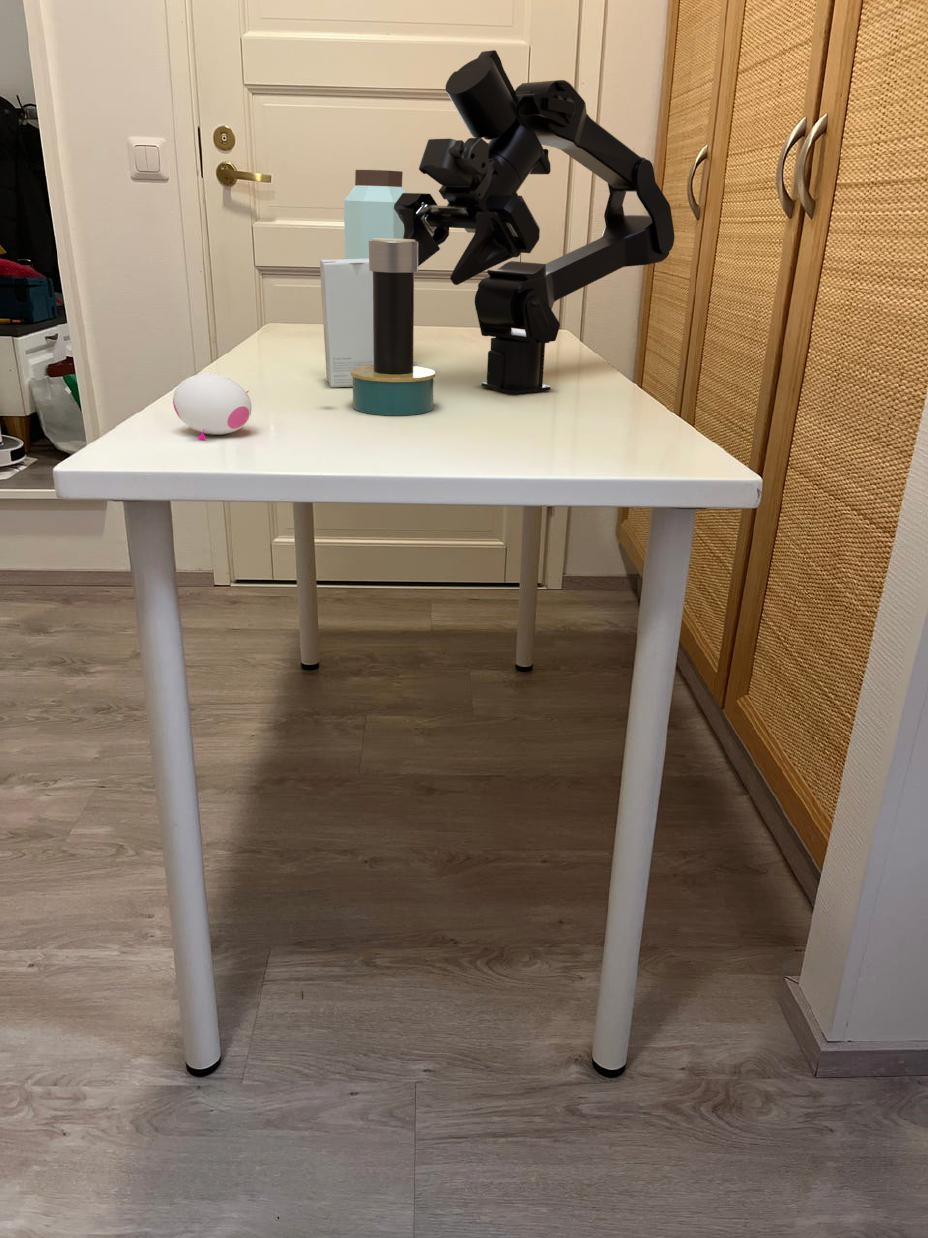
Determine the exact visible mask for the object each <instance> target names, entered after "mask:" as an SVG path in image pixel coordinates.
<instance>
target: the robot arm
mask: <svg viewBox="0 0 928 1238" xmlns="http://www.w3.org/2000/svg"><path fill="white" fill-rule="evenodd" d="M445 91H446V93H447V95H448V97H449V99H450V101H451V102H452V104H453V105H454V107H455V110H456V111H457V113H458V114H459V116H460V118H461V120H462V122H463V123H464V125H465V127H466V128H467V130H468V132H469V134H470V136H472V137H469V138H467V139H466V141H464V140H462V139H459V140H458V139H457V140H456V139H453V138H429V139H428V140H427V141H426V145H425V148H424V151H423V154H422V157H421V160H420V164H419V166H418V170H419V172H420V173H421V174H423V175H427V176H429V177H430V178H431V179H432V180H434V181H435V182H437V183H438V184H439V185H441V186H440V188H439V189H438V193H439V194H440V196H441V197H442V199H443V200H447V202H448V203H447V205H438V203H437V202H436V200H435V199H434V197H433V196H432V194H431V193H424V192H423V193H420V192H419V193H418V192H406V193H402V195H401V196H400V198H399V199H398V200H397V202H396V203H395V205H394V210H395V211H396V213H397V214H398V216H399V218H400V220H401V221H402V223H403V224H404V237H403V239H412V240H415V241H417V242H418V267H420V266H421V265H422V264H424V263H425V262H426V261H428V260H429V259H430V258H432V256H434V255H435V254H436V253H438V252H439V251H440V250H441V247H440V246H441V244H444V243H445V241H446V240H447V239H448V237H449V236H450V228H451V229H464V230H465V232H467V233H470V234H471V233H472V234H473V236H472V238H471V240H470V241H469V243H468V245H467V246H466V247H465V249H464V250H463V252H462V255H461V256H460V258H459V260H458V261H457V263H456V265H455V267H454V268H453V271H452V272H451V274H450V276H449V277H450V281H451V282H452V285H454V286H458V285H460V284H462V283H464V282H466V281H468V280H470V279H472V278H473V277H475V276H478V275H479V274H481V273H483V272H486V273H487V276H485V277H484V278H483V279H481V280H480V281H479V282H478V284H477V290H476V292H475V295H474V307H475V308H474V309H475V312H476V316H477V321H478V325H479V329H480V334H481V336H483V337H490V350H488V352H487V365H486V366H487V367H486V368H487V370H486V381H482V382H481V387H483V388H487V389H491V390H494V391H499V392H501V393H505V394H511V395H516V394H524V393H525V394H526V393H535V392H544V391H545V392H546V391H551V390H552V389H551V388H552V387H551V385H547V384H544V370H545V369H544V367H545V353H546V352H545V351H546V344H550V342H556V340H557V337H558V335H559V331H560V328H561V323H560V321H559V320H558V317H557V316H556V315H555V313H554V312H553V310H552V309H553V307H554V305H555V302H557V301H559V300H561V299H563V298H565V297H567V296H568V295H570V294H574V293H575V292H577V291H579V290H581V289H583V288H585V287H587V286H588V285H591V284H593V283H595V282H596V281H598V280H600V279H602V278H605V277H606V276H609V275H610V274H612V273H615V272H616V271H618V270H621V269H622V268H627V267H639V266H647V265H653V264H658V263H661V262H663V261H665V260H666V259H667V258H668V257H669V255H670V251H671V250H672V249H673V246H674V244H675V239H676V238H675V228H674V222H673V216H672V215H673V214H672V209H671V204H670V202H669V201H668V199H667V198H666V196H665V194H664V192H663V191H662V190H661V189H660V187H659V185H658V183H657V182H656V176H655V169H654V166H653V165H654V164H653V163H652V162H651V160H649V159H647V158H645V157H643V156H640V155H638V154H637V153H636V152H635V151H633V150H632V149H631V148H630V147H628V146H627V145H626V144H624V143H623V142H622V141H621V140H619V139H618V138H617V137H616V136H614V135H613V134H612V133H610V132H609V131H608V130H607V129H605V128H604V127H602V126H601V125H600V124H599V123H597V122H596V121H595V120H594V119H593V118H592V117H590V115H589V114H588V113H587V105H586V101H585V100H584V98H583V97H582V96H581V95H580V93H578V91H577V90H576V89H575V87H574V86H573V85H572V84H571V83H570V82H569V81H567V80H565V79H556V80H544V81H532V82H522V83H521V84H520V85H518V86H517V87H516V88H514V87H513V84H512V83H511V81H510V78H509V77H508V74H507V73H506V71H505V68H504V66H503V63H502V59H501V58H500V56H499V53H498V52H497V50H495V49H492V50H485V51H481V52H480V53H479V55H478V56H477V58H475V59H472V60H470V61H469V62H467V63H465V64H464V65H462V66H461V67H460V68H459V69H457V70H456V71H453V72H452V74H451V75H449V77H448V79H447V81H446V83H445ZM486 140H487V141H488V142H487V141H486ZM543 146H546V147H550V148H554V149H558V150H560V151H562V152H563V153H564V154H566V155H568V156H569V157H570V158H571V159H573V160H574V161H575V162H577V163H579V164H580V165H581V166H583V167H584V168H586V169H587V170H588V171H590V172H591V173H593V174H594V175H596V176H597V177H598V178H600V179H601V180H603V181H604V182H606V183H607V187H608V193H609V194H608V195H609V196H608V199H607V201H606V202H607V203H606V206H605V210H604V214H603V218H604V223H605V227H604V229H603V232H602V235H601V237H600V238H598V239H595V240H594V241H592V242H589V243H587V244H584V245H583V246H580V247H579V248H576V249H574V250H572V251H570V252H568V253H565V254H563V255H562V256H559V257H557V258H554V259H552V260H550V261H549V262H546V263H540V262H539V263H538V262H527V261H516V260H511V261H509V260H510V259H513V258H519V257H520V256H521V254H522V253H523V254H531V252H533V250H534V249H535V246H536V245H537V244H538V243H539V241H540V236H541V235H540V234H541V233H540V231H541V228H540V226H539V224H538V222H537V221H536V218H535V217H534V215H533V214H532V211H531V209H530V208H529V206H528V205H527V203H526V201H525V199H524V197H523V195H519V194H518V191H519V190H520V188H521V187H522V185H523V184H524V182H525V181H526V179H527V178H528V177H529V175H550V173H551V170H552V169H551V161H550V159H549V149H547V148H544V147H543ZM627 192H628V193H636V196H637V198H638V199H639V201H640V203H641V205H642V206H643V208H644V209H645V211H646V213H647V214H648V215H645V214H643V215H642V214H625V211H624V205H623V204H624V202H625V197H626V194H627ZM439 245H440V246H439ZM506 261H508V262H506ZM504 262H505V263H504ZM502 263H504V264H503V265H501V266H500V267H498V268H496V269H491V268H493V267H496V266H497V265H500V264H502Z"/></svg>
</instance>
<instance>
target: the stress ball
mask: <svg viewBox="0 0 928 1238" xmlns="http://www.w3.org/2000/svg"><path fill="white" fill-rule="evenodd" d="M248 392H249V390H247V391H246V390H245V388H243V386H242V385H241V384H240V383H238V382H236V381H235V380H234V379H232V378H229V377H227V376H225V375H220V374H216V373H200V374H195V375H191V376H189V377H187V378H185V379H184V380H183V381H181V382H179V384H178V385H177V387H176V388H175V390H174V393H173V395H172V404H173V408H174V411H175V413H176V415H177V417H178V418H179V419H180V420H181V422H183V423H184V424H185V425H186V426H187V427H189V428H191V429H193V430H195V431H197V432H200V435H199V436H198V437H197V438H196V440H200V441H207V439H206V437H205V434H207V435H215V436H217V435H218V436H219V435H220V436H221V435H228V434H231V433H234V432H236V431H238V430H240V429H241V428H242V427H244V426H245V425H246V424H247V423H248V421H249V419H250V417H251V415H252V411H253V410H252V407H253V406H252V405H253V404H252V401H251V398H250V396H249V394H248Z"/></svg>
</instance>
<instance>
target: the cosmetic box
mask: <svg viewBox="0 0 928 1238" xmlns="http://www.w3.org/2000/svg"><path fill="white" fill-rule="evenodd" d="M319 273H320V275H319V276H320V293H321V305H322V307H321V308H322V323H323V340H324V342H323V343H324V355H325V357H324V358H325V375H326V376H325V377H326V380H327V382H328V385H329V387H330V388H353V376H351V370H352V369H354V368H357V367H362V366H371V365H374V356H373V271H370V270H369V258H368V259H345V258H340V259H339V258H338V259H337V258H336V259H319Z"/></svg>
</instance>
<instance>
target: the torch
mask: <svg viewBox="0 0 928 1238" xmlns="http://www.w3.org/2000/svg"><path fill="white" fill-rule="evenodd" d="M369 270H370V271H373V356H374V372H377V373H381V374H395V375H396V374H409V373H412V372H413V366H414V346H415V345H414V344H415V343H414V342H415V341H414V340H415V339H414V336H415V335H414V330H415V328H414V327H415V324H414V323H415V319H414V318H415V273H418V272H419V266H418V242H417V241H415V240H412V239H391V238H373V239H372V240H369Z"/></svg>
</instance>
